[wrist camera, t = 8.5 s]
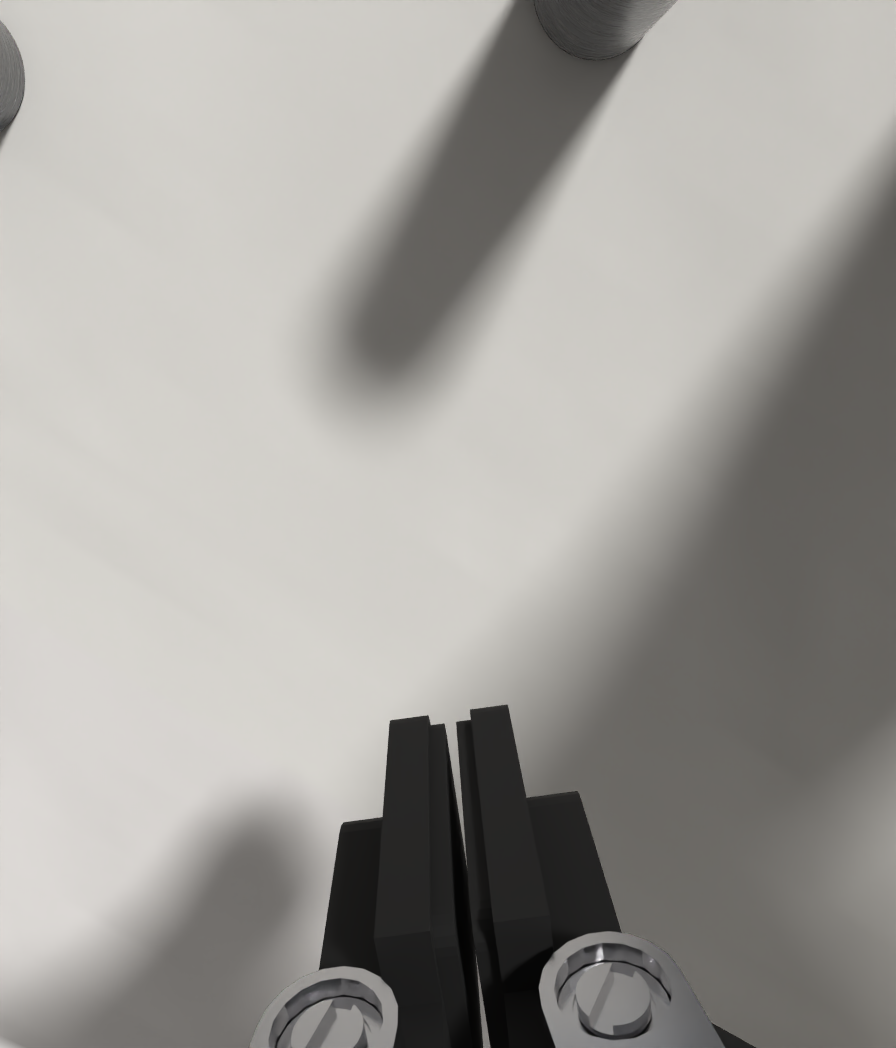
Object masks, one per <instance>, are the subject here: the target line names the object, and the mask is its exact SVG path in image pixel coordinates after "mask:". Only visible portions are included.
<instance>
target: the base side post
mask: <svg viewBox="0 0 896 1048" xmlns="http://www.w3.org/2000/svg"><path fill="white" fill-rule="evenodd" d="M676 1H677V0H534V5H535V9H536V12H537V15H538V18H539V20H540V23H541V25H542V26H543V28H544V30H545V32H546V33H547V34H548V36H549V37H550V38H551V39H552V40H553V41H554V43H555V44H556V45H558V46H559V47H560V48H561V49H563V50H564V51H566V52H568V53H569V54H571V55H574V56H576V57H579V58H583V59H589V60H603V59H608V58H612V57H615V56H617V55H620V54H622V53H623V52H625V51H627V50H628V49H630V48H631V47H632V46H634V45H635V44H636V43H637V42H638V41H639V40H640V39H641V38H642V37H643V36H644V35H645V34H646V33H647V32H648V31H649V30H650V29H651V28H652V27H653V25H654V24H655V23H656V22H657V21H658V20H659V19H660V18H661V17H662V16H663V15H664V14H665V13H666V12H667V11H668V10H669V9H670V8H671V7H672V6H673V5H674V4H675V3H676Z"/></svg>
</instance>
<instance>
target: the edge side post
mask: <svg viewBox="0 0 896 1048" xmlns="http://www.w3.org/2000/svg"><path fill="white" fill-rule="evenodd" d="M24 85H25V75H24V67H23V61H22V58H21V55H20V51H19V49H18V47H17V44H16V42H15V40H14V39H13V37H12V35H11V33H10V32H9V31H8V29H7V28H6V27H5V25H4V24H3V23H2V22H1V21H0V131H1V130H3V129H4V128H5V127H6V126H7V125H8V124H9V123H10V122H11V121H12V119H13V118H14V116H15V115H16V113H17V111H18V109H19V107H20V104H21V101H22V98H23V93H24Z"/></svg>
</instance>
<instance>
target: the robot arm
mask: <svg viewBox="0 0 896 1048" xmlns="http://www.w3.org/2000/svg"><path fill="white" fill-rule="evenodd" d="M470 715H471V720H467V721H460V722H456V725H457V738H458V751H459V765H460V778H461V791H462V804H463V817H464V830H465V844H466V857H467V865H466V858H465V852H464V845H463V839H462V832H461V826H460V819H459V813H458V806H457V800H456V793H455V787H454V780H453V774H452V767H451V761H450V754H449V748H448V741H447V735H446V729H445V724H438V725H430V720H429V716H428V715H427V716H420V717H412V718H405V719H398V720H391V721H390V725H389V738H388V752H387V765H386V779H385V793H384V806H383V817H381V818H373V819H366V820H359V821H351V822H344V823H343V824H342V825H341V829H340V833H339V840H338V847H337V853H336V860H335V867H334V873H333V880H332V887H331V893H330V900H329V907H328V914H327V920H326V927H325V934H324V940H323V947H322V954H321V961H320V967H319V971H316V972H314V973H311V974H309V975H306V976H304V977H301V978H300V979H299V980H297V981H296V982H294V983H293V984H291V985H290V986H288V987H287V988H285V989H284V990H283V991H282V992H281V993H280V994H279V995H278V996H277V997H276V998H275V999H274V1000H273V1001H272V1002H271V1003H270V1004H269V1005H268V1007H267V1008H266V1010H265V1012H264V1014H263V1016H262V1017H261V1019H260V1021H259V1023H258V1025H257V1027H256V1030H255V1032H254V1035H253V1037H252V1040H251V1043H250V1045H249V1048H483V1039H482V1027H481V1014H480V1001H479V989H478V976H477V963H478V969H479V976H480V982H481V989H482V995H483V1001H484V1008H485V1014H486V1021H487V1027H488V1034H489V1040H490V1046H491V1048H756V1047H754V1046H752V1045H750V1044H748V1043H747V1042H745V1041H743V1040H741V1039H739V1038H738V1037H736V1036H734V1035H732V1034H730V1033H729V1032H727V1031H725V1030H723V1029H722V1028H720V1027H718V1026H716V1025H714V1024H713V1023H711V1022H710V1020H709V1018H708V1017H707V1015H706V1013H705V1011H704V1010H703V1008H702V1006H701V1004H700V1003H699V1001H698V999H697V997H696V996H695V994H694V992H693V990H692V989H691V987H690V985H689V983H688V982H687V980H686V978H685V976H684V975H683V973H682V971H681V969H680V968H679V967H678V966H677V964H676V963H675V962H674V961H673V959H672V958H671V957H670V956H669V954H668V953H666V952H665V951H663V950H662V949H660V948H659V947H658V946H656V945H655V944H653V943H652V942H650V941H648V940H645V939H643V938H640V937H637V936H635V935H632V934H628V933H621V929H620V926H619V923H618V919H617V916H616V913H615V910H614V906H613V903H612V900H611V896H610V893H609V890H608V887H607V883H606V880H605V877H604V873H603V870H602V867H601V864H600V860H599V857H598V854H597V850H596V847H595V844H594V840H593V837H592V834H591V831H590V827H589V824H588V821H587V817H586V814H585V811H584V808H583V804H582V801H581V798H580V795H579V793H578V792H577V791H575V792H567V793H560V794H552V795H545V796H537V797H530V798H526V794H525V789H524V784H523V779H522V774H521V769H520V764H519V759H518V754H517V749H516V744H515V739H514V734H513V729H512V724H511V719H510V714H509V709H508V705H501V706H494V707H486V708H479V709H471V710H470ZM467 870H468V871H467ZM475 950H476V951H475ZM476 957H477V963H476Z"/></svg>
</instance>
